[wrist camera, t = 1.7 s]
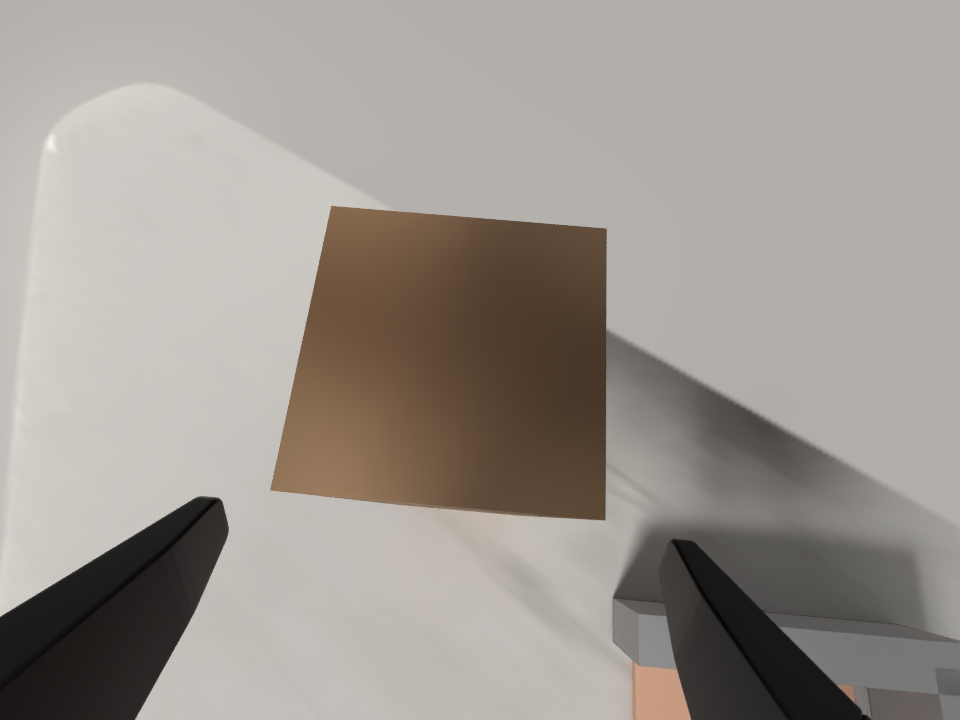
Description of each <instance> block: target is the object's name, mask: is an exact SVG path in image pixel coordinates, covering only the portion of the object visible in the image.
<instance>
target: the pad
mask: <svg viewBox="0 0 960 720" xmlns="http://www.w3.org/2000/svg"><path fill="white" fill-rule="evenodd" d="M837 686H838V687H839V688H840V689H841V690H842V691H843V692H844V693H845V694H846V695H847V696H848V697H849V698H850V699H851V700H852V701H853V702H854V703H855V704H856V702H855V695H854V687H853V686H846V685H837ZM633 720H691V718H690V714H689V711H688V707H687V704H686V700H685V697H684V693H683V690H682V686H681V682H680V679H679V675H678V672H677V670H675V669H665V668H654V667H643V666H638V665H637V664H636V663H635V662H634V661H633Z"/></svg>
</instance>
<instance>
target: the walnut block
mask: <svg viewBox="0 0 960 720" xmlns="http://www.w3.org/2000/svg"><path fill="white" fill-rule="evenodd" d="M606 231H607V230H606V229H604V228H592V227H579V226H567V225H555V224H542V223H530V222H519V221H506V220H493V219H482V218H469V217H457V216H445V215H434V214H421V213H409V212H397V211H385V210H373V209H361V208H348V207H336V206H331V210H330V215H329V219H328V224H327V229H326V233H325V238H324V243H323V247H322V252H321V257H320V261H319V266H318V271H317V275H316V280H315V285H314V289H313V294H312V299H311V303H310V308H309V313H308V317H307V322H306V327H305V331H304V336H303V341H302V345H301V350H300V355H299V359H298V364H297V369H296V373H295V378H294V383H293V387H292V392H291V397H290V401H289V406H288V411H287V415H286V420H285V425H284V429H283V434H282V439H281V443H280V448H279V453H278V457H277V462H276V467H275V471H274V476H273V480H272V485H271V490H273V491H281V492H290V493H299V494H308V495H317V496H326V497H335V498H344V499H353V500H362V501H371V502H380V503H389V504H398V505H409V506H420V507H431V508H442V509H453V510H464V511H475V512H486V513H498V514H509V515H520V516H537V517H554V518H572V519H590V520H605V494H606Z"/></svg>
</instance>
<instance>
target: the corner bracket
mask: <svg viewBox="0 0 960 720" xmlns="http://www.w3.org/2000/svg"><path fill="white" fill-rule="evenodd" d="M764 613H765V614H766V615H767V616H768V617H769V618H770V619H771V620H772V621H773V622H774V623H775V624H776V625H777V626H778V627H779V628H780V629H781V630H782V631H783V632H784V633H785V634H786V635H787V636H788V637H789V638H790V639H791V640H792V641H793V642H794V643H795V644H796V645H797V646H798V647H799V648H800V649H801V650H802V651H803V652H804V653H805V654H806V655H807V656H808V657H809V658H810V659H811V660H812V661H813V662H814V663H815V664H816V665H817V666H818V667H819V668H820V669H821V670H822V671H823V672H824V673H825V674H826V675H827V676H828V677H829V678H830V679H831V680H832V681H833V682H834V683H835V684H836V685H846V686H856V687H867V688H868V693H869V700H870V707H871V714H872V720H960V641H958V640H954V639H951V638H947V637H943V636H939V635H935V634H932V633H928V632H924V631H920V630H916V629H913V628H909V627H905V626H901V625H897V624H887V623H876V622H865V621H854V620H843V619H832V618H821V617H811V616H800V615H789V614H778V613H767V612H764ZM613 643H615V644H616V645H617V646H618V647H619V648H620V649H621V650H622V651H623V652H624V653H625V654H626V655H628V656H629V657H630V658H631V659H632V660H633V661H634V662H635V663H636V664H637V665H638V666H643V667H654V668H665V669H675V670H677V668H676V664H675V660H674V656H673V651H672V646H671V640H670V634H669V629H668V623H667V617H666V612H665V606H664V603H659V602H648V601H637V600H626V599H615V598H613Z"/></svg>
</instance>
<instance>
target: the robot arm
mask: <svg viewBox="0 0 960 720" xmlns="http://www.w3.org/2000/svg"><path fill="white" fill-rule="evenodd" d="M228 531H229V527H228V522H227V518H226V514H225V510H224V506H223V502H222V500H221V499H220V498H217V497H206V496H200V497H197V498H195V499H193V500H191V501H190V502H188V503H186V504H185V505H183V506H181V507H180V508H178V509H176V510H175V511H173V512H171V513H170V514H168V515H167V516H165V517H163V518H162V519H160V520H158V521H157V522H155V523H153V524H152V525H150V526H148V527H147V528H145V529H144V530H142V531H140V532H139V533H137V534H135V535H134V536H132V537H130V538H129V539H127V540H125V541H124V542H122V543H121V544H119V545H117V546H116V547H114V548H112V549H111V550H109V551H107V552H106V553H104V554H102V555H101V556H99V557H98V558H96V559H94V560H93V561H91V562H89V563H88V564H86V565H84V566H83V567H81V568H79V569H78V570H76V571H75V572H73V573H71V574H70V575H68V576H66V577H65V578H63V579H61V580H60V581H58V582H56V583H55V584H53V585H52V586H50V587H48V588H47V589H45V590H43V591H42V592H40V593H38V594H37V595H35V596H33V597H32V598H30V599H29V600H27V601H25V602H24V603H22V604H20V605H19V606H17V607H15V608H14V609H12V610H10V611H9V612H7V613H6V614H4V615H2V616H1V617H0V720H135V719H136V717H137V715H138V713H139V712H140V710H141V708H142V706H143V704H144V703H145V701H146V699H147V697H148V695H149V694H150V692H151V690H152V688H153V686H154V685H155V683H156V681H157V679H158V677H159V676H160V674H161V672H162V670H163V668H164V667H165V665H166V663H167V661H168V660H169V658H170V656H171V654H172V652H173V651H174V649H175V647H176V645H177V643H178V642H179V640H180V638H181V636H182V634H183V633H184V631H185V629H186V627H187V625H188V624H189V622H190V620H191V618H192V616H193V614H194V612H195V610H196V608H197V606H198V603H199V601H200V599H201V597H202V595H203V592H204V590H205V588H206V585H207V583H208V581H209V578H210V576H211V574H212V572H213V569H214V567H215V565H216V562H217V560H218V558H219V555H220V553H221V551H222V549H223V546H224V544H225V542H226V539H227V536H228ZM659 576H660V583H661V589H662V595H663V600H664V606H665V612H666V617H667V623H668V629H669V634H670V640H671V646H672V651H673V656H674V660H675V664H676V668H677V672H678V675H679V679H680V682H681V686H682V690H683V693H684V697H685V700H686V704H687V707H688V711H689V714H690V718H691V720H871V719H870V718H869V717H868V716H867V715H865V714H863V715H862V710H861V709H860V708H859V707H858V706H857V705H856V704H855V703H854V702H853V701H852V700H851V699H850V698H849V697H848V696H847V695H846V694H845V693H844V692H843V691H842V690H841V689H840V688H839V687H838V686H837V685H836V684H835V683H834V682H833V681H832V680H831V679H830V678H829V677H828V676H827V675H826V674H825V673H824V672H823V671H822V670H821V669H820V668H819V667H818V666H817V665H816V664H815V663H814V662H813V661H812V660H811V659H810V658H809V657H808V656H807V655H806V654H805V653H804V652H803V651H802V650H801V649H800V648H799V647H798V646H797V645H796V644H795V643H794V642H793V641H792V640H791V639H790V638H789V637H788V636H787V635H786V634H785V633H784V632H783V631H782V630H781V629H780V628H779V627H778V626H777V625H776V624H775V623H774V622H773V621H772V620H771V619H770V618H769V617H768V616H767V615H766V614H765V613H764V612H763V611H762V610H761V609H760V608H759V607H758V606H757V605H756V603H755V602H754V601H753V600H752V599H751V598H750V597H749V596H748V595H747V594H746V593H745V592H744V591H743V590H742V589H741V588H740V587H739V586H738V585H737V584H736V583H735V582H734V581H733V580H732V579H731V578H730V577H729V576H728V575H727V574H726V573H725V572H724V571H723V570H722V569H721V568H720V567H719V566H718V565H717V564H716V563H715V562H714V561H713V560H712V559H711V558H710V557H709V556H708V555H707V554H706V553H705V552H704V551H703V550H702V549H701V548H700V547H699V546H698V545H697V544H696V543H694V542H693V541H691V540H683V539H672V540H670V541H669V543H668V546H667V548H666V551H665V554H664V557H663V559H662V562H661V565H660V570H659Z"/></svg>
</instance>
